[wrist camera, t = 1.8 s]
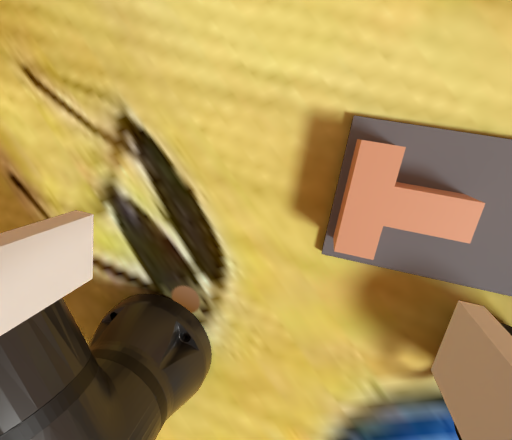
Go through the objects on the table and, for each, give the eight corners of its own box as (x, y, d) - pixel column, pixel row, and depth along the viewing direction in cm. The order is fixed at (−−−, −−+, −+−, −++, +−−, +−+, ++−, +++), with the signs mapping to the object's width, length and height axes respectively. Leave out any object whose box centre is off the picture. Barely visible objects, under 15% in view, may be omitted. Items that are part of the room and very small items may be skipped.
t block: (333, 237, 33) (334, 251, 29) (357, 138, 30) (361, 139, 26) (440, 260, 31) (456, 278, 27) (477, 158, 28) (501, 162, 24)
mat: (321, 251, 34) (321, 253, 33) (353, 116, 30) (354, 115, 29) (669, 328, 29) (679, 333, 28) (765, 178, 25) (778, 180, 24)
